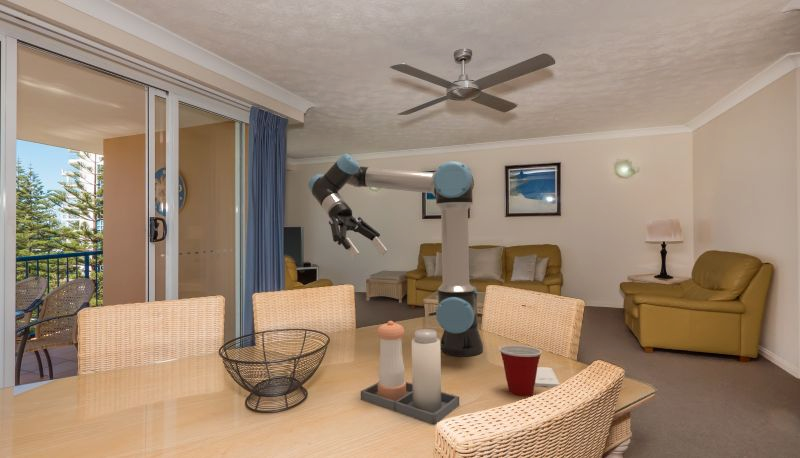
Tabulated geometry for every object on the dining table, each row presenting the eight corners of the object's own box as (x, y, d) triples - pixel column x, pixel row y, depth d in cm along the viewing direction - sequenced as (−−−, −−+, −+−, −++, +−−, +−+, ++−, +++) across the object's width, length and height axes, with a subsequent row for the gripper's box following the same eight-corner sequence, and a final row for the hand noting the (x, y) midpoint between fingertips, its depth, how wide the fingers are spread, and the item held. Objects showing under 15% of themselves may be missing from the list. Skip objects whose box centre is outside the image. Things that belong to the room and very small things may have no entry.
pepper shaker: (410, 393, 98) (409, 319, 98) (398, 405, 92) (397, 325, 92) (385, 388, 101) (384, 316, 101) (372, 399, 95) (371, 323, 95)
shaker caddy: (388, 387, 104) (388, 376, 104) (459, 409, 91) (459, 396, 91) (360, 403, 95) (360, 391, 95) (434, 429, 82) (434, 415, 82)
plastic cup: (542, 388, 102) (541, 343, 102) (543, 406, 92) (542, 356, 92) (500, 383, 106) (500, 340, 106) (497, 400, 95) (496, 352, 95)
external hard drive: (551, 372, 114) (560, 390, 102) (523, 371, 116) (528, 388, 104) (551, 367, 114) (560, 384, 102) (523, 366, 116) (528, 382, 104)
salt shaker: (423, 398, 95) (421, 326, 95) (446, 406, 91) (445, 330, 91) (407, 409, 89) (405, 333, 89) (431, 417, 85) (430, 337, 85)
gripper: (357, 218, 142) (389, 259, 133) (303, 217, 122) (336, 265, 113) (367, 203, 139) (400, 244, 130) (314, 199, 119) (349, 248, 110)
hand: (371, 254), depth 122 cm, fingers open, 13 cm apart
